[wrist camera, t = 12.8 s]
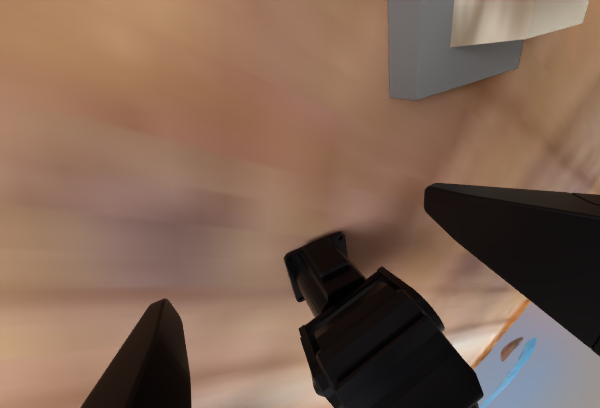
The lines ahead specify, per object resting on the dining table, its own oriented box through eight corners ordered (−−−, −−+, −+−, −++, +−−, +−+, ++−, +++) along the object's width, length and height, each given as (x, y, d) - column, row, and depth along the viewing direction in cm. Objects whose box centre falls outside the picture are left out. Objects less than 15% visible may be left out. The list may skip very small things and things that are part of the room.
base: (483, 68, 25) (517, 68, 22) (389, 97, 22) (416, 100, 20) (508, -95, 19) (557, -121, 17) (386, -83, 17) (422, -111, 14)
